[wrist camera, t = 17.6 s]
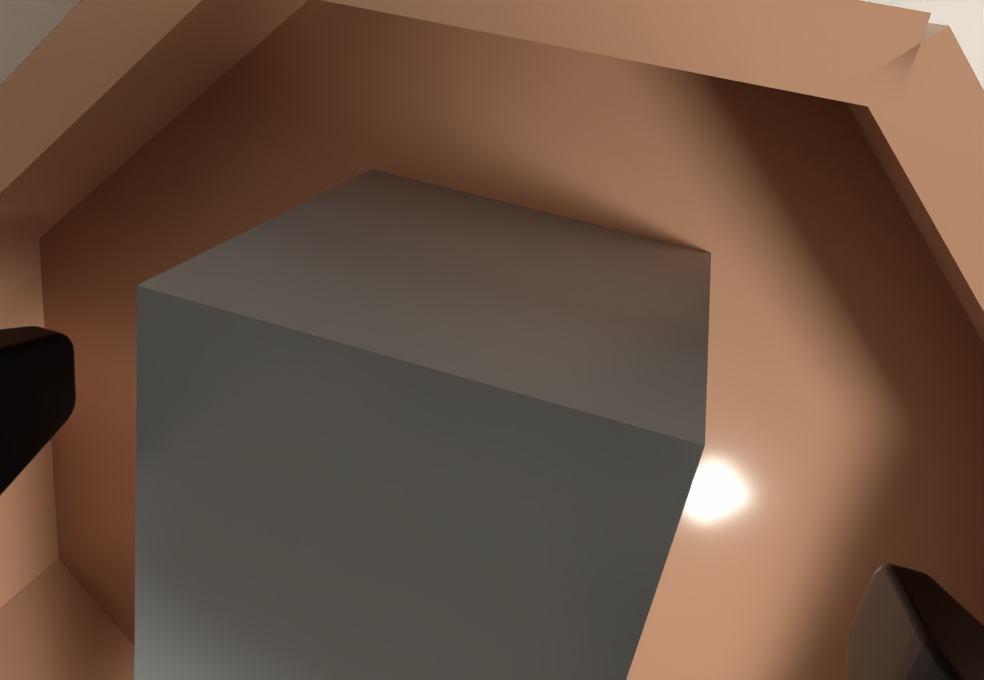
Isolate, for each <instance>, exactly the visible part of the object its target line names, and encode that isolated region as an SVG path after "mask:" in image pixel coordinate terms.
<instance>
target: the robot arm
mask: <svg viewBox="0 0 984 680" xmlns="http://www.w3.org/2000/svg"><path fill="white" fill-rule="evenodd" d="M75 402H76V382H75V359H74V346H73V343H72V341H71V339H70V338H69V337H68V336H67V335H65V334H63V333H60V332H57V331H53V330H49V329H46V328H42V327H38V326H26V327H17V328H8V329H0V496H1V494H2V493H3V492H4V491H5V490H6V489H7V488H8V487H9V485H10V484H11V483H12V482H13V481H14V480H15V479H16V478H17V476H18V475H19V474H20V473H21V472H22V471H23V470H24V469H25V468H26V466H27V465H28V464H29V463H30V462H31V461H32V460H33V459H34V457H35V456H36V455H37V454H38V453H39V452H40V451H41V450H42V448H43V447H44V446H45V445H46V444H47V443H48V442H49V441H50V440H51V438H52V437H53V436H54V435H55V434H56V433H57V432H58V431H59V429H60V428H61V427H62V426H63V425H64V424H65V423H66V422H67V420H68V419H69V418H70V416H71V414H72V412H73V410H74V407H75ZM847 680H984V626H983V625H982V624H981V623H980V622H979V621H978V620H977V619H976V618H975V617H974V616H973V615H971V614H970V613H969V612H968V611H967V610H966V609H965V608H964V607H963V606H962V605H961V604H960V603H958V602H957V601H956V600H955V599H954V598H953V597H952V596H951V595H950V594H949V593H948V592H947V591H945V590H944V589H943V588H942V587H941V586H940V585H939V584H938V583H937V582H936V581H935V580H934V579H932V578H931V577H930V576H929V575H927V574H925V573H923V572H920V571H917V570H913V569H909V568H906V567H902V566H898V565H895V564H890V563H886V564H883V565H881V566H880V567H879V568H878V569H877V570H876V572H875V573H874V575H873V578H872V580H871V582H870V584H869V587H868V589H867V591H866V593H865V596H864V598H863V600H862V602H861V605H860V607H859V609H858V612H857V614H856V616H855V618H854V621H853V623H852V625H851V628H850V632H849V636H848V642H847Z"/></svg>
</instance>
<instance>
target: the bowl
mask: <svg viewBox="0 0 984 680" xmlns="http://www.w3.org/2000/svg"><path fill="white" fill-rule="evenodd" d="M930 15H931V13H928V12H922V11H916V10H911V9H905V8H899V7H894V6H888V5H882V4H876V3H871V2H865V1H859V0H82V1H81V2H80V3H79V4H78V5H77V6H76V7H75V8H74V9H73V10H72V11H71V12H70V13H69V14H68V15H67V16H66V17H65V18H64V19H63V20H62V22H61V23H60V24H59V25H58V26H57V27H56V28H55V29H54V30H53V31H52V32H51V33H50V34H49V35H48V36H47V37H46V38H45V39H44V40H43V41H42V43H41V44H40V45H39V46H38V47H37V48H36V49H35V50H34V51H33V52H32V53H31V54H30V55H29V56H28V57H27V58H26V59H25V60H24V61H23V62H22V64H21V65H20V66H19V67H18V68H17V69H16V70H15V71H14V72H13V73H12V74H11V75H10V76H9V77H8V78H7V79H6V80H5V81H4V82H3V83H2V84H1V86H0V329H8V328H17V327H26V326H38V327H42V328H46V329H49V330H53V331H57V332H60V333H63V334H65V335H67V336H68V337H69V338H70V339H71V341H72V343H73V346H74V359H75V382H76V402H75V407H74V410H73V412H72V414H71V416H70V418H69V419H68V420H67V422H66V423H65V424H64V425H63V426H62V427H61V428H60V429H59V431H58V432H57V433H56V434H55V435H54V436H53V437H52V438H51V440H50V441H49V442H48V443H47V444H46V445H45V446H44V447H43V448H42V450H41V451H40V452H39V453H38V454H37V455H36V456H35V457H34V459H33V460H32V461H31V462H30V463H29V464H28V465H27V466H26V468H25V469H24V470H23V471H22V472H21V473H20V474H19V475H18V476H17V478H16V479H15V480H14V481H13V482H12V483H11V484H10V485H9V487H8V488H7V489H6V490H5V491H4V492H3V493H2V494H1V496H0V680H134V659H135V516H136V373H137V285H139V284H141V283H143V282H145V281H147V280H149V279H151V278H153V277H155V276H157V275H159V274H161V273H163V272H165V271H167V270H169V269H171V268H173V267H175V266H177V265H179V264H181V263H183V262H185V261H187V260H189V259H191V258H193V257H195V256H197V255H199V254H201V253H203V252H206V251H208V250H210V249H212V248H214V247H216V246H218V245H220V244H222V243H224V242H226V241H228V240H230V239H232V238H234V237H236V236H238V235H240V234H242V233H244V232H246V231H248V230H250V229H252V228H254V227H256V226H258V225H260V224H262V223H264V222H266V221H268V220H270V219H272V218H274V217H276V216H278V215H280V214H282V213H284V212H286V211H288V210H290V209H292V208H294V207H297V206H299V205H301V204H303V203H305V202H307V201H309V200H311V199H313V198H315V197H317V196H319V195H321V194H323V193H325V192H327V191H329V190H331V189H333V188H335V187H337V186H339V185H341V184H343V183H345V182H347V181H349V180H351V179H353V178H355V177H357V176H359V175H361V174H363V173H365V172H367V171H369V170H371V169H374V170H378V171H382V172H386V173H390V174H394V175H398V176H403V177H407V178H411V179H415V180H419V181H423V182H427V183H431V184H435V185H439V186H443V187H447V188H451V189H455V190H459V191H463V192H467V193H471V194H475V195H479V196H483V197H487V198H491V199H495V200H500V201H504V202H508V203H512V204H516V205H520V206H524V207H528V208H532V209H536V210H540V211H544V212H548V213H552V214H556V215H560V216H564V217H568V218H572V219H576V220H580V221H584V222H588V223H592V224H597V225H601V226H605V227H609V228H613V229H617V230H621V231H625V232H629V233H633V234H637V235H641V236H645V237H649V238H653V239H657V240H661V241H665V242H669V243H673V244H677V245H681V246H685V247H689V248H693V249H698V250H702V251H706V252H710V253H711V275H710V306H709V337H708V368H707V399H706V430H705V447H704V450H703V453H702V456H701V459H700V462H699V465H698V468H697V471H696V474H695V477H694V480H693V483H692V486H691V489H690V492H689V495H688V498H687V501H686V504H685V507H684V510H683V512H682V515H681V518H680V521H679V524H678V527H677V530H676V533H675V536H674V539H673V542H672V545H671V548H670V551H669V554H668V557H667V560H666V563H665V566H664V569H663V572H662V575H661V578H660V581H659V584H658V587H657V590H656V593H655V596H654V599H653V602H652V605H651V608H650V611H649V613H648V616H647V619H646V622H645V625H644V628H643V631H642V634H641V637H640V640H639V643H638V646H637V649H636V652H635V655H634V658H633V661H632V664H631V667H630V670H629V673H628V676H627V679H626V680H847V642H848V636H849V632H850V628H851V625H852V623H853V621H854V618H855V616H856V614H857V612H858V609H859V607H860V605H861V602H862V600H863V598H864V596H865V593H866V591H867V589H868V587H869V584H870V582H871V580H872V578H873V575H874V573H875V572H876V570H877V569H878V568H879V567H880V566H881V565H883V564H886V563H890V564H895V565H898V566H902V567H906V568H909V569H913V570H917V571H920V572H923V573H925V574H927V575H929V576H930V577H931V578H932V579H934V580H935V581H936V582H937V583H938V584H939V585H940V586H941V587H942V588H943V589H944V590H945V591H947V592H948V593H949V594H950V595H951V596H952V597H953V598H954V599H955V600H956V601H957V602H958V603H960V604H961V605H962V606H963V607H964V608H965V609H966V610H967V611H968V612H969V613H970V614H971V615H973V616H974V617H975V618H976V619H977V620H978V621H979V622H980V623H981V624H982V625H983V626H984V90H983V88H982V87H981V85H980V83H979V81H978V79H977V77H976V75H975V74H974V72H973V70H972V68H971V66H970V64H969V62H968V60H967V59H966V57H965V55H964V53H963V51H962V49H961V47H960V45H959V44H958V42H957V40H956V38H955V36H954V34H953V32H952V31H951V29H950V27H949V26H948V25H939V24H931V23H928V20H929V18H930Z"/></svg>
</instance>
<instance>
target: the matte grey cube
mask: <svg viewBox="0 0 984 680" xmlns="http://www.w3.org/2000/svg"><path fill="white" fill-rule="evenodd" d="M710 275H711V253H710V252H706V251H702V250H698V249H693V248H689V247H685V246H681V245H677V244H673V243H669V242H665V241H661V240H657V239H653V238H649V237H645V236H641V235H637V234H633V233H629V232H625V231H621V230H617V229H613V228H609V227H605V226H601V225H597V224H592V223H588V222H584V221H580V220H576V219H572V218H568V217H564V216H560V215H556V214H552V213H548V212H544V211H540V210H536V209H532V208H528V207H524V206H520V205H516V204H512V203H508V202H504V201H500V200H495V199H491V198H487V197H483V196H479V195H475V194H471V193H467V192H463V191H459V190H455V189H451V188H447V187H443V186H439V185H435V184H431V183H427V182H423V181H419V180H415V179H411V178H407V177H403V176H398V175H394V174H390V173H386V172H382V171H378V170H374V169H371V170H369V171H367V172H365V173H363V174H361V175H359V176H357V177H355V178H353V179H351V180H349V181H347V182H345V183H343V184H341V185H339V186H337V187H335V188H333V189H331V190H329V191H327V192H325V193H323V194H321V195H319V196H317V197H315V198H313V199H311V200H309V201H307V202H305V203H303V204H301V205H299V206H297V207H294V208H292V209H290V210H288V211H286V212H284V213H282V214H280V215H278V216H276V217H274V218H272V219H270V220H268V221H266V222H264V223H262V224H260V225H258V226H256V227H254V228H252V229H250V230H248V231H246V232H244V233H242V234H240V235H238V236H236V237H234V238H232V239H230V240H228V241H226V242H224V243H222V244H220V245H218V246H216V247H214V248H212V249H210V250H208V251H206V252H203V253H201V254H199V255H197V256H195V257H193V258H191V259H189V260H187V261H185V262H183V263H181V264H179V265H177V266H175V267H173V268H171V269H169V270H167V271H165V272H163V273H161V274H159V275H157V276H155V277H153V278H151V279H149V280H147V281H145V282H143V283H141V284H139V285H137V373H136V516H135V659H134V680H626V679H627V676H628V673H629V670H630V667H631V664H632V661H633V658H634V655H635V652H636V649H637V646H638V643H639V640H640V637H641V634H642V631H643V628H644V625H645V622H646V619H647V616H648V613H649V611H650V608H651V605H652V602H653V599H654V596H655V593H656V590H657V587H658V584H659V581H660V578H661V575H662V572H663V569H664V566H665V563H666V560H667V557H668V554H669V551H670V548H671V545H672V542H673V539H674V536H675V533H676V530H677V527H678V524H679V521H680V518H681V515H682V512H683V510H684V507H685V504H686V501H687V498H688V495H689V492H690V489H691V486H692V483H693V480H694V477H695V474H696V471H697V468H698V465H699V462H700V459H701V456H702V453H703V450H704V447H705V430H706V399H707V368H708V337H709V306H710Z"/></svg>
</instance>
